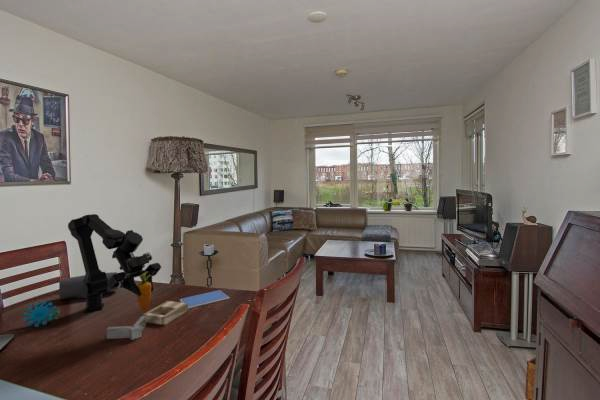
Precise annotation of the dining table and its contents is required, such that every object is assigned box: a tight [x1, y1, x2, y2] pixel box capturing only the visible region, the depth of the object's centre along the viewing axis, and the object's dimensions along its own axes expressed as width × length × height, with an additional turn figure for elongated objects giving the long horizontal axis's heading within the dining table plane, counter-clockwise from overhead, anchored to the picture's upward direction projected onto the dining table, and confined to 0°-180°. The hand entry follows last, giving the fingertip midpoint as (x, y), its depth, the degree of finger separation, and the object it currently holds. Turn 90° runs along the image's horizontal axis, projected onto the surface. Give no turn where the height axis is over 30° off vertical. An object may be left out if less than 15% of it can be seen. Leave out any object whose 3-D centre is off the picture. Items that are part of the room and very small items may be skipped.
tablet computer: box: [179, 289, 230, 310], centre depth 146 cm, size 19×13×1 cm, turn 126°
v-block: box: [106, 315, 147, 341], centre depth 114 cm, size 9×13×4 cm, turn 140°
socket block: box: [142, 300, 189, 326], centre depth 129 cm, size 10×14×3 cm
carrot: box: [136, 273, 152, 313], centre depth 120 cm, size 5×5×15 cm
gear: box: [23, 300, 61, 328], centre depth 124 cm, size 11×6×10 cm
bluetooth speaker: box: [58, 271, 119, 299], centre depth 152 cm, size 23×9×10 cm, turn 120°
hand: (146, 293), depth 119 cm, fingers closed on carrot, 5 cm apart
